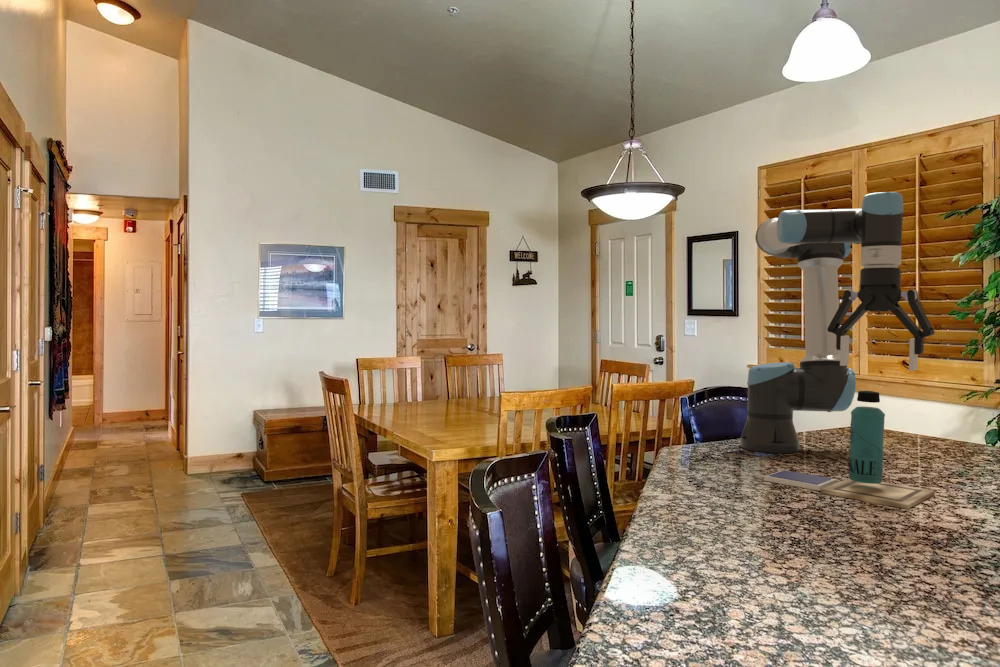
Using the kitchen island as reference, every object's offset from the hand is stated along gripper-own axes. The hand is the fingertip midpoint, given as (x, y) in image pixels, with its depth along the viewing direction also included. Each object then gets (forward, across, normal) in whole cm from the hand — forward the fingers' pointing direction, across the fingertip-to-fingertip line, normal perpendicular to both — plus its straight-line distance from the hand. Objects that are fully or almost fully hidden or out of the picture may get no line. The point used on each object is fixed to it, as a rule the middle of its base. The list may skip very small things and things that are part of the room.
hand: (877, 367), depth 148 cm
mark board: (+25, +3, -7) cm, 26 cm away
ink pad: (+25, -12, -9) cm, 29 cm away
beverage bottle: (+24, 0, -6) cm, 25 cm away
